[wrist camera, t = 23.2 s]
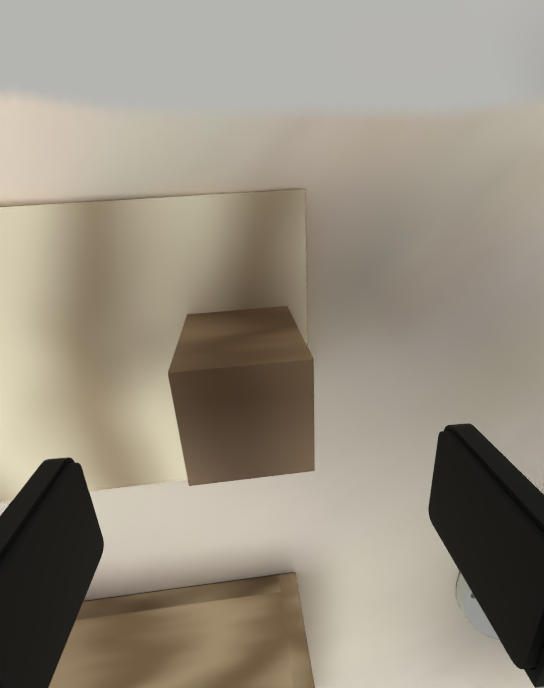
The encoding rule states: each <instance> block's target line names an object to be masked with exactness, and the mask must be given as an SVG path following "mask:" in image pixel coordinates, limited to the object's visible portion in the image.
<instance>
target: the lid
mask: <svg viewBox="0 0 544 688" xmlns="http://www.w3.org/2000/svg"><path fill="white" fill-rule="evenodd" d="M67 457H70V458H72V459H73V460H74V462H75V463H80V464H81V467H82V470H83V473H84V476H85V480H86V483H87V486H88V490H89V491H95V490H103V489H112V488H120V487H129V486H137V485H146V484H154V483H162V482H171V481H179V480H188V484H189V486H192V485H200V484H209V483H217V482H225V481H234V480H242V479H250V478H259V477H267V476H275V475H284V474H292V473H300V472H309V471H315V469H314V365H313V357H312V355H311V353H310V351H309V349H308V339H307V278H306V217H305V189H294V190H277V191H261V192H244V193H227V194H210V195H194V196H177V197H160V198H144V199H127V200H110V201H93V202H77V203H60V204H43V205H27V206H10V207H0V502H2V501H11V500H13V499H14V498H15V497H16V495H17V494H18V493H19V491H20V490H21V489H22V488H23V486H24V485H25V484H26V482H27V481H28V480H29V479H30V477H31V476H32V475H33V473H34V472H35V471H36V470H37V468H38V467H39V466H40V464H41V463H42V462H43V461H44V460H47V459H56V458H67Z"/></svg>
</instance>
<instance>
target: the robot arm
mask: <svg viewBox="0 0 544 688" xmlns="http://www.w3.org/2000/svg"><path fill="white" fill-rule="evenodd" d="M429 516H430V520H431V522H432V524H433V526H434V528H435V529H436V531H437V533H438V535H439V536H440V538H441V540H442V541H443V543H444V545H445V547H446V548H447V550H448V552H449V553H450V555H451V557H452V559H453V560H454V562H455V564H456V565H457V567H458V569H459V571H460V575H459V578H458V582H457V586H456V597H457V600H458V604H459V606H460V608H461V610H462V612H463V613H464V615H465V617H466V619H467V621H468V622H469V624H470V625H471V626H472V627H473V628H474V629H475V630H477V631H479V632H481V633H482V634H484V635H486V636H489V637H492V638H496V639H499V640H500V641H501V643H502V644H503V646H504V648H505V650H506V651H507V653H508V655H509V657H510V658H511V660H512V661H513V663H514V664H515V665H516V666H517V667H518V668H520V669H524V670H525V672H526V673H527V675H528V677H529V678H530V680H531V682H532V683H533V685H534V687H535V688H544V495H543V494H542V493H541V492H540V491H539V490H538V489H537V488H536V487H535V486H534V485H533V484H532V483H531V482H530V481H529V480H528V479H527V478H526V477H525V476H524V475H523V474H522V473H521V472H520V471H519V470H518V469H517V468H516V467H515V466H514V465H513V464H512V463H511V462H510V461H509V460H508V459H507V458H506V457H505V456H504V455H503V454H502V453H501V452H500V451H499V450H498V449H497V448H495V447H494V446H493V445H492V444H491V443H490V442H489V441H488V440H487V439H486V438H485V437H484V436H483V435H482V434H481V433H480V432H479V431H478V430H477V429H476V428H475V427H474V426H473V425H471V424H457V425H448V426H446V427H445V429H444V431H442V432H440V433H439V436H438V443H437V450H436V458H435V465H434V472H433V479H432V486H431V494H430V501H429ZM103 547H104V541H103V537H102V533H101V530H100V527H99V523H98V520H97V517H96V513H95V510H94V507H93V503H92V500H91V497H90V493H89V490H88V486H87V483H86V480H85V476H84V473H83V470H82V467H81V464H80V463H75V462H74V460H73V459H72V458H70V457H67V458H56V459H47V460H44V461H43V462H42V463H41V464H40V466H39V467H38V468H37V470H36V471H35V472H34V473H33V475H32V476H31V477H30V479H29V480H28V481H27V482H26V484H25V485H24V486H23V488H22V489H21V490H20V491H19V493H18V494H17V495H16V497H15V498H14V499H13V500H12V502H11V503H10V504H9V506H8V507H7V508H6V510H5V511H4V512H3V513H2V515H1V516H0V688H48V687H49V685H50V682H51V680H52V677H53V675H54V673H55V670H56V668H57V665H58V663H59V660H60V658H61V655H62V653H63V650H64V648H65V645H66V643H67V640H68V638H69V635H70V633H71V630H72V628H73V626H74V623H75V621H76V618H77V616H78V613H79V611H80V608H81V606H82V603H83V601H84V598H85V596H86V593H87V591H88V588H89V586H90V583H91V581H92V578H93V576H94V574H95V571H96V569H97V566H98V564H99V561H100V559H101V556H102V553H103Z"/></svg>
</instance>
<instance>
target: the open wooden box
mask: <svg viewBox="0 0 544 688" xmlns="http://www.w3.org/2000/svg"><path fill="white" fill-rule="evenodd" d="M48 688H315V686H314V680H313V674H312V668H311V662H310V657H309V651H308V645H307V639H306V633H305V627H304V622H303V616H302V610H301V604H300V598H299V592H298V586H297V581H296V575H295V573H289V574H281V575H274V576H267V577H260V578H252V579H245V580H238V581H230V582H223V583H216V584H209V585H201V586H194V587H187V588H179V589H172V590H165V591H157V592H150V593H143V594H136V595H128V596H121V597H114V598H106V599H99V600H92V601H84V602H83V603H82V606H81V608H80V611H79V613H78V616H77V618H76V621H75V623H74V626H73V628H72V630H71V633H70V635H69V638H68V640H67V643H66V645H65V648H64V650H63V653H62V655H61V658H60V660H59V663H58V665H57V668H56V670H55V673H54V675H53V677H52V680H51V682H50V685H49V687H48Z"/></svg>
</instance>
